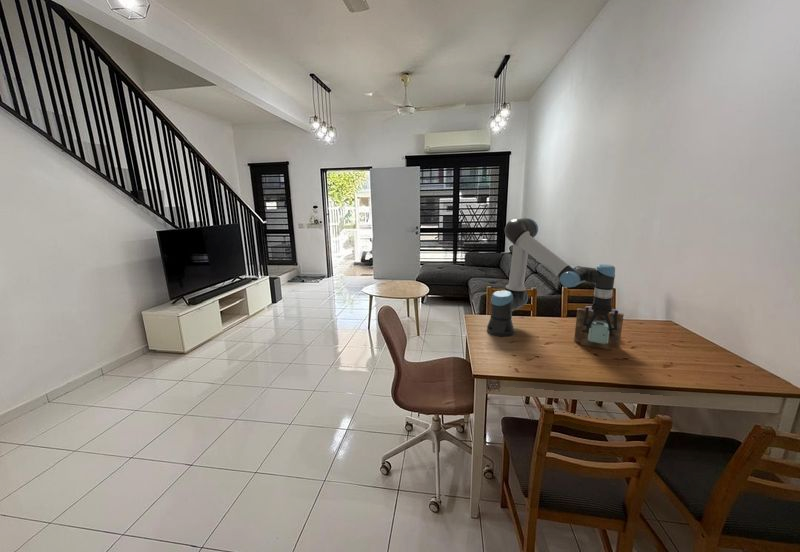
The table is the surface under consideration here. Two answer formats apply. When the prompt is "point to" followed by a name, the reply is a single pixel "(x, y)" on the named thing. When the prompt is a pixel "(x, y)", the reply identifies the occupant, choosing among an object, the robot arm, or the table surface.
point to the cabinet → (599, 331)
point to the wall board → (581, 330)
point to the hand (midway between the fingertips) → (597, 340)
